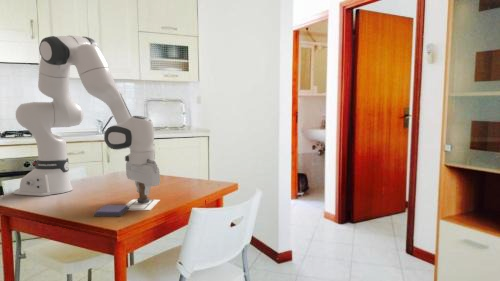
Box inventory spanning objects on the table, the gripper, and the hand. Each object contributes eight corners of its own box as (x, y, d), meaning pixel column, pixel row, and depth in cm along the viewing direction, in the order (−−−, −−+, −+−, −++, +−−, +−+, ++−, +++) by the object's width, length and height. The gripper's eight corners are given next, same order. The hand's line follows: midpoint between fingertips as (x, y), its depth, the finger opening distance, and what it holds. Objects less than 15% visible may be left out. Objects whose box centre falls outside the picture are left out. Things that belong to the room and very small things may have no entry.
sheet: (119, 210, 127) (119, 209, 127) (132, 200, 141) (132, 199, 141) (150, 210, 127) (150, 209, 127) (160, 200, 141) (160, 199, 141)
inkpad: (93, 216, 120) (93, 211, 120) (104, 208, 129) (104, 204, 129) (120, 216, 120) (120, 212, 120) (129, 209, 129) (129, 204, 129)
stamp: (137, 203, 135) (136, 179, 134) (137, 200, 139) (137, 177, 138) (149, 202, 136) (148, 179, 135) (149, 199, 140) (149, 177, 139)
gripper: (164, 160, 131) (164, 197, 132) (137, 154, 145) (138, 188, 147) (148, 162, 126) (149, 200, 128) (122, 156, 141) (123, 190, 142)
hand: (143, 193), depth 137 cm, fingers closed on stamp, 4 cm apart
